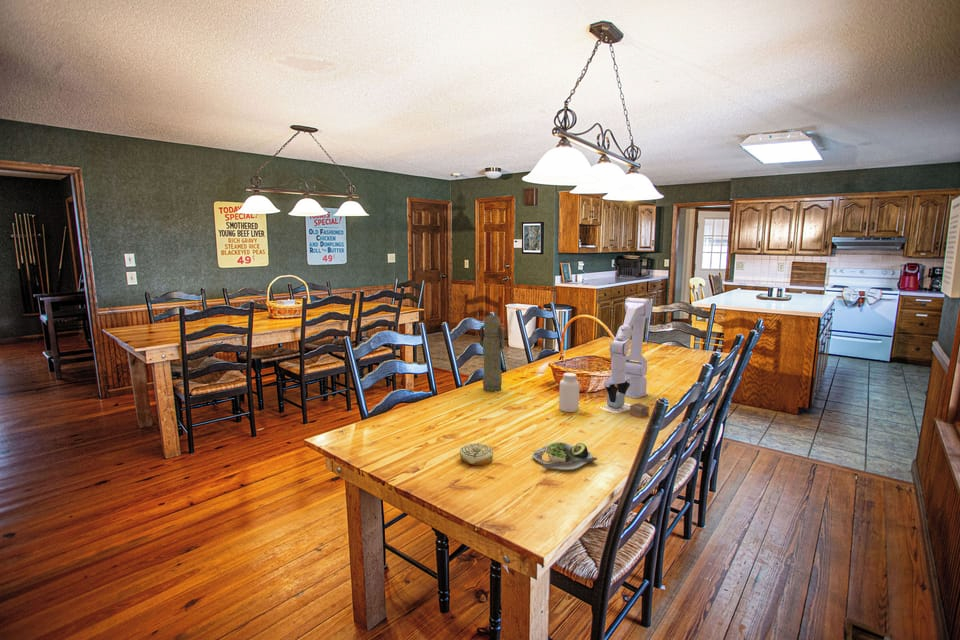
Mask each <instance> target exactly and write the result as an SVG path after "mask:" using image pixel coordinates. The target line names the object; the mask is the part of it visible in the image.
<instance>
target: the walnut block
mask: <svg viewBox="0 0 960 640" xmlns="http://www.w3.org/2000/svg"><path fill="white" fill-rule="evenodd" d="M649 413H650V406H648V405H646V404H643V403H640V402H638V403H637V402H636V403H634V404H630V409H629V415H631V416H634V417H637V418H639V419H641V418H644V416H645V417H647V416H649Z"/></svg>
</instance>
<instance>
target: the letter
mask: <svg viewBox="0 0 960 640" xmlns="http://www.w3.org/2000/svg"><path fill="white" fill-rule="evenodd" d="M630 405H631V404H630V403H628V402H624V406H621V407H618V408H615V407H612V406H609V405H605V406H606V407H605V408H604V407H603V408H602V406H601V407H600V408H601V409H600V408H599V409H600V410H603V411H607V412H609V413H612V414H613V415H614V414H615V415H617V414H619V413H622V412H626V411H630ZM598 406H599V405H597V406H596V408H598Z"/></svg>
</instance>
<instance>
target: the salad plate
mask: <svg viewBox="0 0 960 640" xmlns="http://www.w3.org/2000/svg"><path fill="white" fill-rule="evenodd" d="M545 452H547V453H548V459H549V460H544V459H542V455H543V454H544V453H545ZM544 455H545V454H544ZM544 455H543V456H544ZM532 457H533V459H534V460H535V461H536V462H539V463H538V464H540V465H541V467H542V468H543V469H550V470H551V469H552V470H557V471H558V470H559V471H575V470H577V469H579V468H581V467H584V466H585V465H588V464H590V463H591V462H594V461H597V460H598V457H593V454H592V453H591V452H590V451H588V447H587V445H586V444H585V443H582V442H580V443H579V442H578V443H576V444H575V445H572V444H570V443H568V442H563V441H562V442H559V441H557V442H550V443H548V444H547V445H544V446H542V447H540V448H537V449H535V451H532Z"/></svg>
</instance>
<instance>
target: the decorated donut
mask: <svg viewBox="0 0 960 640" xmlns="http://www.w3.org/2000/svg"><path fill="white" fill-rule="evenodd" d="M459 456H460V459H461V460H462V461H463V462H464V463H465V462H466V463H465V464H468V463H469V464H468V465H472V464H473V465H472V466H475V465H477V466H485V464H486V465H488V464H489V463H491V461H493V457H494V452H493V449H492V448H491V447H490V446H489V445H486V444H483V443H469V444H465V445H463V446H462V447H460V449H459Z"/></svg>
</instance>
